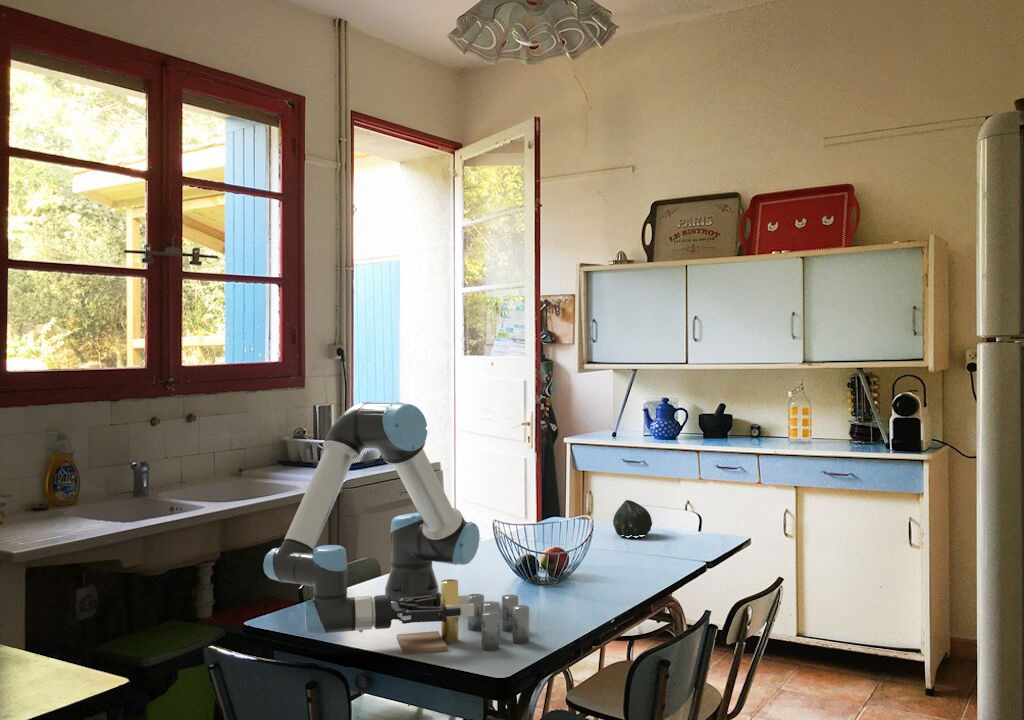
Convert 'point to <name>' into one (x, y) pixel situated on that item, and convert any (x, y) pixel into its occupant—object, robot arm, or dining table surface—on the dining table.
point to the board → (421, 642)
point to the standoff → (449, 598)
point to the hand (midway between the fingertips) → (470, 605)
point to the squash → (632, 520)
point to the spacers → (489, 622)
